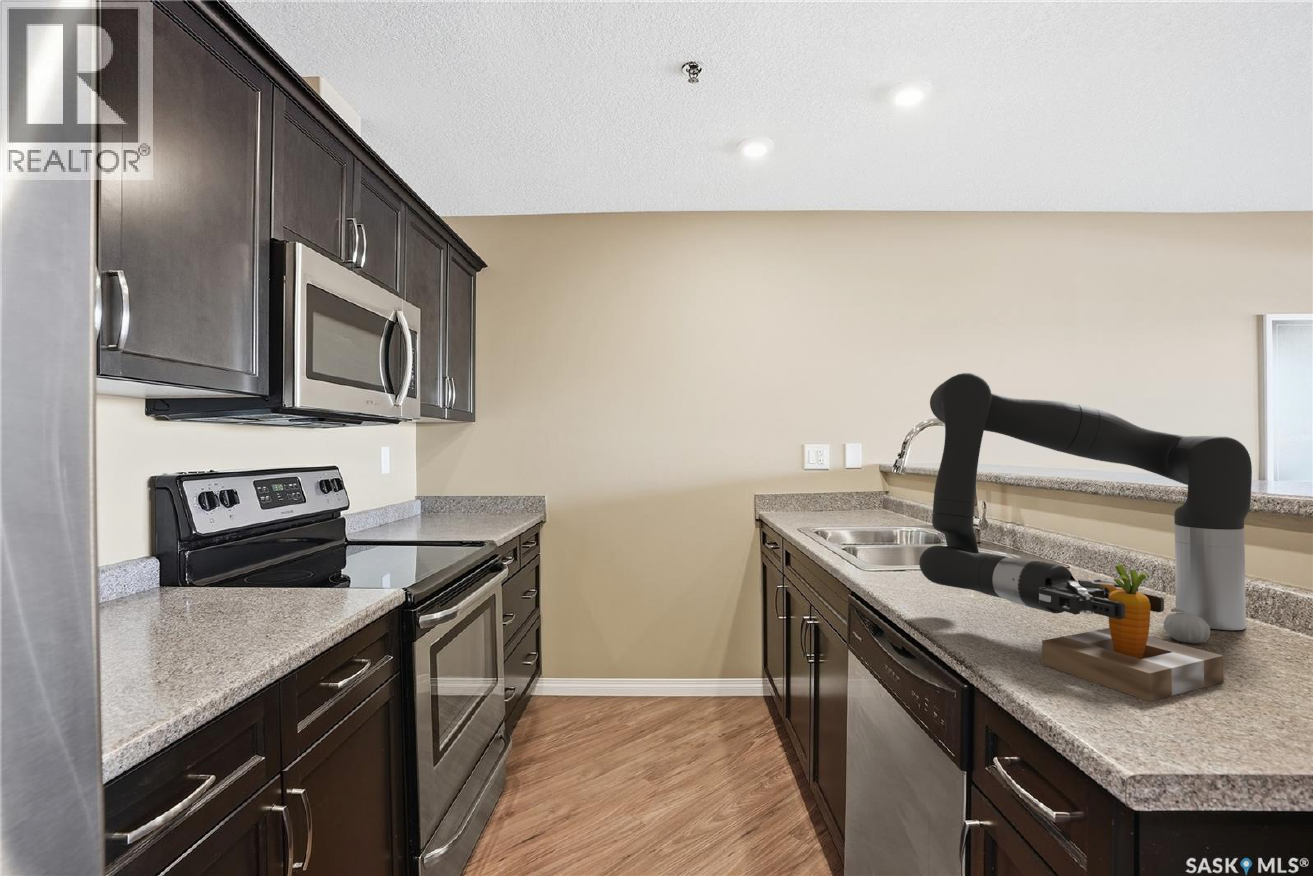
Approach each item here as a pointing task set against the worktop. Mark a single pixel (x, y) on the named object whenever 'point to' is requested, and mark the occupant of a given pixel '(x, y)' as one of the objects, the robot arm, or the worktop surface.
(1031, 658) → the worktop surface
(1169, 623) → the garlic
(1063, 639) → the brown and silver frame
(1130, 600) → the carrot
